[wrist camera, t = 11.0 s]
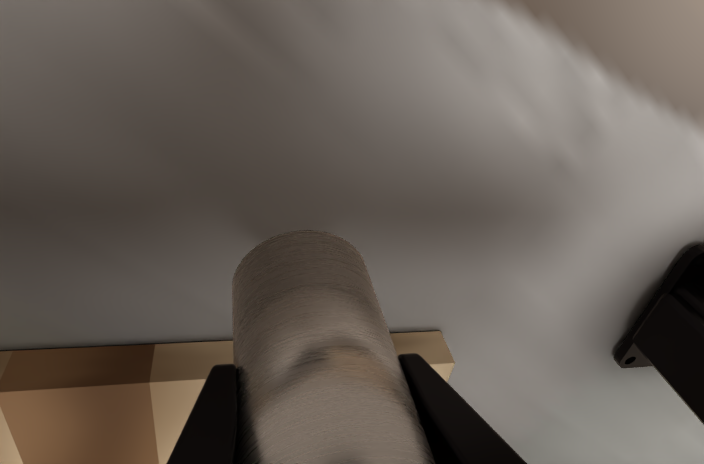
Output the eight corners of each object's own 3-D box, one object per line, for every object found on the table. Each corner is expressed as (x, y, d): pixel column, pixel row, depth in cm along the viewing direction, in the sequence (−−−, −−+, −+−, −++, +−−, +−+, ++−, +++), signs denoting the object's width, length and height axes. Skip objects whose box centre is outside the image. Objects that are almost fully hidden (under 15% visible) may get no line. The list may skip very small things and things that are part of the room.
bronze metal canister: (378, 231, 11) (576, 700, 5) (355, 329, 13) (478, 764, 7) (233, 229, 10) (246, 791, 4) (230, 334, 12) (236, 837, 6)
